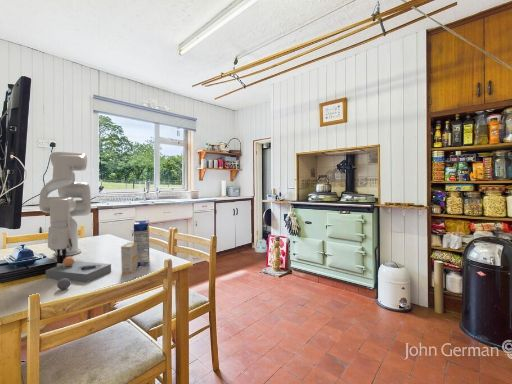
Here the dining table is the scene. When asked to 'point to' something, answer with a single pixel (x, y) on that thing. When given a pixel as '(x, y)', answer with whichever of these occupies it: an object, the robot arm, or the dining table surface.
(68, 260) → the ball
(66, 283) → the ball
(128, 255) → the supplement box
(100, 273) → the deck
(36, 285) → the dining table surface
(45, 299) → the dining table surface
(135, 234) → the beverage box
